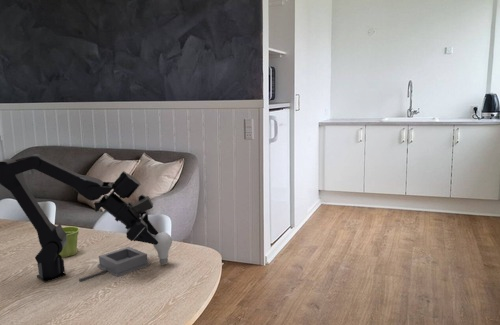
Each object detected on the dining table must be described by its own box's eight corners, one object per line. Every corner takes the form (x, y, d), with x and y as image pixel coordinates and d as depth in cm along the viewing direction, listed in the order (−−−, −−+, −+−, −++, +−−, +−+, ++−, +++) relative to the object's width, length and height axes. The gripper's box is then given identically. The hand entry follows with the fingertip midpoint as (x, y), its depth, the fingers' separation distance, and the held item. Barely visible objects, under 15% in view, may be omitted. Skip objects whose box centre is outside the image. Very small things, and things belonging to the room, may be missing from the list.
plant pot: (86, 249, 158) (84, 226, 156) (73, 259, 148) (71, 235, 147) (62, 249, 159) (59, 226, 157) (47, 259, 149) (45, 234, 148)
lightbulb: (163, 270, 137) (161, 237, 135) (150, 265, 141) (148, 233, 139) (177, 263, 142) (175, 231, 140) (164, 259, 146) (162, 228, 144)
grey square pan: (89, 287, 126) (88, 275, 126) (70, 276, 135) (69, 264, 134) (149, 265, 142) (149, 254, 141) (129, 256, 150) (129, 245, 149)
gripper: (134, 196, 127) (175, 228, 131) (137, 183, 145) (173, 212, 149) (109, 225, 127) (150, 256, 131) (115, 208, 145) (151, 236, 149)
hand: (157, 238), depth 140 cm, fingers open, 9 cm apart
